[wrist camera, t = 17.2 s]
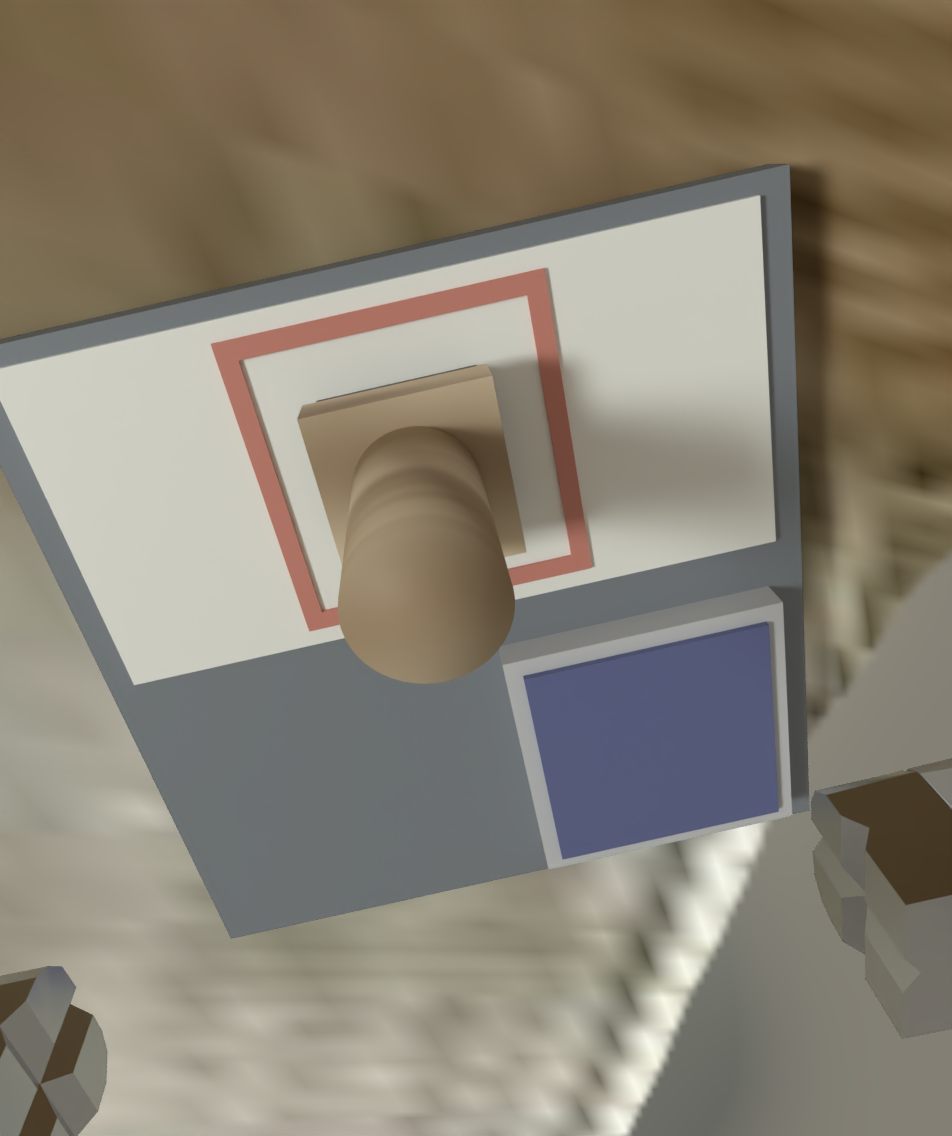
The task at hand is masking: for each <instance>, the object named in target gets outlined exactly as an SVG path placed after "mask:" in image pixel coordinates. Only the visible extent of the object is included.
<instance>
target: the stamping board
mask: <svg viewBox="0 0 952 1136" xmlns="http://www.w3.org/2000/svg"><path fill="white" fill-rule="evenodd" d="M483 364H487V365H488V367H489V370H490V372H491V374H492V377H493V382H494V387H495V392H496V397H497V402H498V407H499V412H500V418H501V423H502V428H503V433H504V438H505V443H506V448H507V453H508V459H509V464H510V469H511V474H512V479H513V484H514V489H515V494H516V499H517V505H518V510H519V515H520V520H521V525H522V530H523V535H524V540H525V546H526V551H527V552H526V553H521V554H517V555H512V556H508V557H504V558H505V561H506V565H507V568H508V572H509V575H510V579H511V582H512V586H513V589H514V596H515V613H514V619H513V623H512V626H511V629H510V631H509V633H508V635H507V638H506V640H505V641H504V643H503V644H502V646H501V647H500V648H499V650H498V651H497V652H496V653H495V654H494V655H493V656H492V657H491V658H490V659H489V660H488V661H487V662H486V663H484V664H483V665H482V666H480V667H479V668H477V669H476V670H474V671H472V672H470V673H469V674H467V675H464V676H462V677H459V678H457V679H453V680H450V681H446V682H440V683H430V684H418V683H409V682H403V681H399V680H396V679H392V678H390V677H387V676H385V675H383V674H381V673H379V672H377V671H375V670H374V669H372V668H371V667H369V666H368V665H367V664H365V663H364V662H363V661H362V660H361V659H360V658H359V657H358V656H357V655H356V654H355V653H354V652H353V650H352V649H351V648H350V646H349V645H348V643H347V641H346V639H345V638H344V635H343V633H342V630H341V627H340V623H339V619H338V596H339V588H340V580H341V571H342V563H341V560H340V557H339V554H338V551H337V547H336V544H335V541H334V538H333V534H332V531H331V528H330V525H329V521H328V518H327V515H326V512H325V508H324V505H323V502H322V499H321V496H320V492H319V489H318V486H317V483H316V479H315V476H314V473H313V470H312V466H311V463H310V460H309V457H308V453H307V450H306V447H305V444H304V440H303V437H302V434H301V431H300V428H299V424H298V421H297V418H298V416H299V413H300V410H301V407H302V405H306V404H311V403H315V402H316V401H318V400H322V399H326V398H331V397H335V396H340V395H344V394H349V393H353V392H357V391H362V390H366V389H371V388H375V387H380V386H384V385H388V384H393V383H397V382H402V381H406V380H411V379H415V378H419V377H424V376H428V375H433V374H437V373H442V372H446V371H450V370H455V369H459V368H464V367H468V366H473V365H476V366H479V365H483ZM0 466H1V468H2V470H3V472H4V474H5V476H6V478H7V480H8V482H9V484H10V487H11V489H12V491H13V493H14V495H15V497H16V499H17V501H18V503H19V505H20V507H21V509H22V511H23V513H24V515H25V517H26V519H27V521H28V523H29V525H30V527H31V530H32V532H33V534H34V536H35V538H36V540H37V542H38V544H39V546H40V548H41V550H42V552H43V554H44V556H45V558H46V560H47V562H48V564H49V566H50V568H51V571H52V573H53V575H54V577H55V579H56V581H57V583H58V585H59V587H60V589H61V591H62V593H63V595H64V597H65V599H66V601H67V603H68V605H69V607H70V609H71V612H72V614H73V616H74V618H75V620H76V622H77V624H78V626H79V628H80V630H81V632H82V634H83V636H84V638H85V640H86V642H87V644H88V646H89V648H90V650H91V652H92V655H93V657H94V659H95V661H96V663H97V665H98V667H99V669H100V671H101V673H102V675H103V677H104V679H105V681H106V683H107V685H108V687H109V689H110V691H111V693H112V696H113V698H114V700H115V702H116V704H117V706H118V708H119V710H120V712H121V714H122V716H123V718H124V720H125V722H126V724H127V726H128V728H129V730H130V732H131V734H132V736H133V739H134V741H135V743H136V745H137V747H138V749H139V751H140V753H141V755H142V757H143V759H144V761H145V763H146V765H147V767H148V769H149V771H150V773H151V775H152V777H153V780H154V782H155V784H156V786H157V788H158V790H159V792H160V794H161V796H162V798H163V800H164V802H165V804H166V806H167V808H168V810H169V812H170V814H171V816H172V818H173V821H174V823H175V825H176V827H177V829H178V831H179V833H180V835H181V837H182V839H183V841H184V843H185V845H186V847H187V849H188V851H189V853H190V855H191V857H192V859H193V861H194V864H195V866H196V868H197V870H198V872H199V874H200V876H201V878H202V880H203V882H204V884H205V886H206V888H207V890H208V892H209V894H210V896H211V898H212V900H213V902H214V905H215V907H216V909H217V911H218V913H219V915H220V917H221V919H222V921H223V923H224V925H225V927H226V929H227V931H228V933H229V935H230V937H231V939H232V938H237V937H241V936H246V935H250V934H255V933H259V932H264V931H268V930H273V929H277V928H282V927H286V926H291V925H295V924H300V923H304V922H309V921H313V920H318V919H322V918H327V917H331V916H336V915H340V914H345V913H349V912H354V911H358V910H363V909H367V908H372V907H376V906H381V905H385V904H390V903H394V902H399V901H403V900H408V899H412V898H417V897H421V896H426V895H430V894H435V893H439V892H444V891H448V890H453V889H457V888H462V887H466V886H471V885H475V884H480V883H484V882H489V881H493V880H498V879H502V878H507V877H511V876H516V875H521V874H525V873H530V872H534V871H539V870H543V869H554V868H558V867H563V866H567V865H572V864H576V863H581V862H585V861H590V860H594V859H599V858H603V857H608V856H612V855H617V854H621V853H626V852H630V851H635V850H639V849H644V848H648V847H653V846H657V845H662V844H666V843H671V842H675V841H680V840H685V839H689V838H694V837H698V836H703V835H707V834H712V833H716V832H721V831H725V830H730V829H734V828H739V827H743V826H748V825H752V824H757V823H761V822H766V821H770V820H775V819H779V818H784V817H788V816H792V814H795V813H800V812H804V811H809V782H808V749H807V716H806V683H805V651H804V618H803V585H802V553H801V520H800V488H799V455H798V422H797V390H796V357H795V324H794V292H793V259H792V226H791V194H790V164H766V165H762V166H758V167H753V168H749V169H744V170H740V171H736V172H731V173H727V174H723V175H718V176H714V177H709V178H705V179H701V180H696V181H692V182H688V183H683V184H679V185H674V186H670V187H666V188H661V189H657V190H652V191H648V192H644V193H639V194H635V195H631V196H626V197H622V198H617V199H613V200H609V201H604V202H600V203H595V204H591V205H587V206H582V207H578V208H574V209H569V210H565V211H560V212H556V213H552V214H547V215H543V216H538V217H534V218H530V219H525V220H521V221H517V222H512V223H508V224H503V225H499V226H495V227H490V228H486V229H481V230H477V231H473V232H468V233H464V234H460V235H455V236H451V237H446V238H442V239H438V240H433V241H429V242H425V243H420V244H416V245H411V246H407V247H403V248H398V249H394V250H389V251H385V252H381V253H376V254H372V255H368V256H363V257H359V258H354V259H350V260H346V261H341V262H337V263H332V264H328V265H324V266H319V267H315V268H311V269H306V270H302V271H297V272H293V273H289V274H284V275H280V276H275V277H271V278H267V279H262V280H258V281H254V282H249V283H245V284H240V285H236V286H232V287H227V288H223V289H218V290H214V291H210V292H205V293H201V294H197V295H192V296H188V297H183V298H179V299H175V300H170V301H166V302H161V303H157V304H153V305H148V306H144V307H140V308H135V309H131V310H126V311H122V312H118V313H113V314H109V315H105V316H100V317H96V318H91V319H87V320H83V321H78V322H74V323H69V324H65V325H61V326H56V327H52V328H48V329H43V330H39V331H34V332H30V333H26V334H21V335H17V336H12V337H8V338H4V339H0Z"/></svg>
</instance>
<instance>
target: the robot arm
mask: <svg viewBox="0 0 952 1136" xmlns="http://www.w3.org/2000/svg"><path fill="white" fill-rule="evenodd" d="M811 814H812V815H811V817H812V821H813V823H814V824H815V826H816V827H817V829H818V830H819V832H820V834H821V835H822V836H823V837H822V839H821V840H820V842H819V843H818V845H817V846H816V847H815V849H814V850H813V862H814V875H815V879H816V882H817V886H818V889H819V893H820V896H821V900H822V903H823V905H824V907H825V909H826V911H827V914H828V916H829V918H830V920H831V922H832V924H833V925H834V927H835V929H836V931H837V932H838V934H839V936H840V938H841V939H842V941H843V942H844V943H846V944H848V945H849V946H852V947H853V948H855V949H856V950H858V951H860V952H862V953H863V954H865V979H866V981H867V983H868V984H869V986H870V988H871V989H872V991H873V992H874V994H875V996H876V997H877V999H878V1001H879V1002H880V1004H881V1006H882V1007H883V1009H884V1010H885V1012H886V1014H887V1015H888V1017H889V1019H890V1020H891V1022H892V1024H893V1025H894V1027H895V1029H896V1030H897V1032H898V1033H899V1035H900V1037H901V1038H902V1039H904V1038H909V1037H914V1036H920V1035H925V1034H930V1033H935V1032H940V1031H945V1030H950V1029H952V758H951V759H947V760H943V761H939V762H934V763H931V764H926V765H922V766H918V767H913V768H910V769H908V770H906V771H903V770H901V771H897V772H893V773H889V774H885V775H880V776H877V777H872V778H868V779H864V780H860V781H855V782H851V783H847V784H843V785H838V786H834V787H830V788H826V789H822V790H817V791H815V792H814V795H813V798H812V801H811ZM75 989H76V986H75V985H74V983H73V982H72V981H71V979H70V978H69V976H68V975H67V973H66V972H65V970H64V969H63V967H59V966H47V967H42V968H37V969H32V970H27V971H22V972H17V973H12V974H7V975H2V976H0V1136H78V1134H79V1133H80V1132H81V1131H82V1130H83V1128H84V1127H85V1126H86V1125H87V1124H88V1122H89V1121H90V1120H91V1119H92V1118H93V1117H94V1115H95V1114H96V1113H97V1112H98V1109H99V1106H100V1102H101V1099H102V1095H103V1092H104V1088H105V1085H106V1073H107V1048H106V1044H105V1040H104V1036H103V1033H102V1030H101V1028H100V1026H99V1025H98V1023H97V1021H96V1019H95V1018H94V1016H93V1015H92V1014H90V1013H88V1012H86V1011H83V1010H81V1009H79V1008H77V1007H75V1006H73V1005H71V1004H70V1003H71V1001H72V998H73V995H74V992H75Z"/></svg>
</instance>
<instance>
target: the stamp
mask: <svg viewBox="0 0 952 1136" xmlns="http://www.w3.org/2000/svg"><path fill="white" fill-rule="evenodd" d="M297 421H298V424H299V428H300V431H301V434H302V437H303V440H304V444H305V447H306V450H307V453H308V457H309V460H310V463H311V466H312V470H313V473H314V476H315V479H316V483H317V486H318V489H319V492H320V496H321V499H322V502H323V505H324V508H325V512H326V515H327V518H328V521H329V525H330V528H331V531H332V534H333V538H334V541H335V544H336V547H337V551H338V554H339V557H340V560H341V563H342V571H341V580H340V588H339V596H338V619H339V623H340V627H341V630H342V633H343V635H344V638H345V639H346V641H347V643H348V645H349V646H350V648H351V649H352V650H353V652H354V653H355V654H356V655H357V656H358V657H359V658H360V659H361V660H362V661H363V662H364V663H365V664H367V665H368V666H369V667H371V668H372V669H374V670H375V671H377V672H379V673H381V674H383V675H385V676H387V677H390V678H392V679H396V680H399V681H403V682H409V683H418V684H430V683H440V682H446V681H450V680H453V679H457V678H459V677H462V676H464V675H467V674H469V673H470V672H472V671H474V670H476V669H477V668H479V667H480V666H482V665H483V664H484V663H486V662H487V661H488V660H489V659H490V658H491V657H492V656H493V655H494V654H495V653H496V652H497V651H498V650H499V648H500V647H501V646H502V644H503V643H504V641H505V640H506V638H507V635H508V633H509V631H510V629H511V626H512V623H513V619H514V613H515V596H514V589H513V586H512V582H511V579H510V575H509V572H508V568H507V565H506V561H505V558H504V557H508V556H512V555H517V554H521V553H526V552H527V551H526V546H525V540H524V535H523V530H522V525H521V520H520V515H519V510H518V505H517V499H516V494H515V489H514V484H513V479H512V474H511V469H510V464H509V459H508V453H507V448H506V443H505V438H504V433H503V428H502V423H501V418H500V412H499V407H498V402H497V397H496V392H495V387H494V382H493V377H492V374H491V372H490V370H489V367H488V365H487V364H483V365H479V366H476V365H473V366H468V367H464V368H459V369H455V370H450V371H446V372H442V373H437V374H433V375H428V376H424V377H419V378H415V379H411V380H406V381H402V382H397V383H393V384H388V385H384V386H380V387H375V388H371V389H366V390H362V391H357V392H353V393H349V394H344V395H340V396H335V397H331V398H326V399H322V400H318V401H316V402H315V403H311V404H306V405H302V407H301V410H300V413H299V416H298V418H297Z"/></svg>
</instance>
